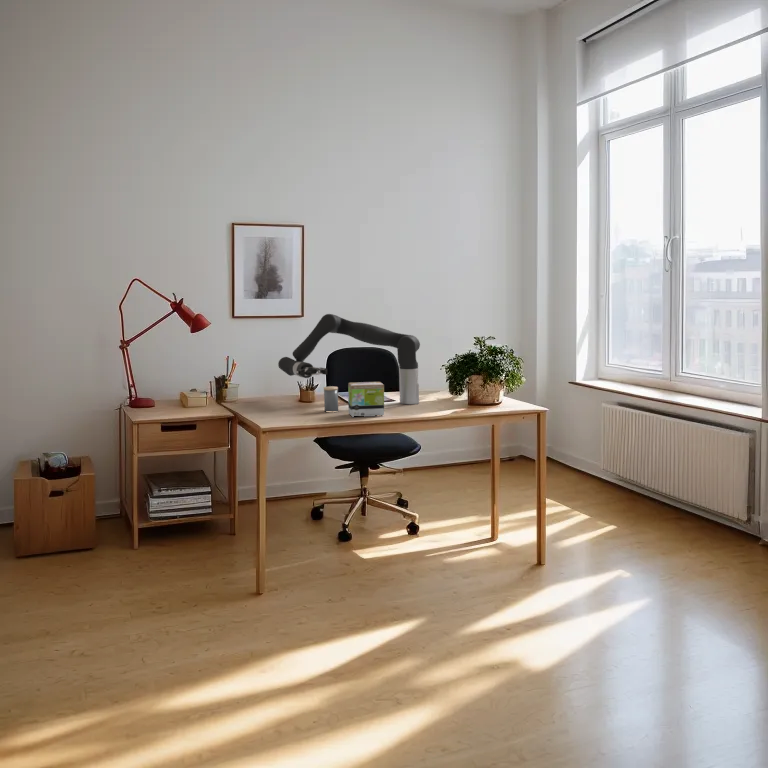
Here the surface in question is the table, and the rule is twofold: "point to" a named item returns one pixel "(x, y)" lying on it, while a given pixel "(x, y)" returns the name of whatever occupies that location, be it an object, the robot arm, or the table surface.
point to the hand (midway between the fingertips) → (318, 373)
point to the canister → (331, 398)
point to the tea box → (365, 399)
